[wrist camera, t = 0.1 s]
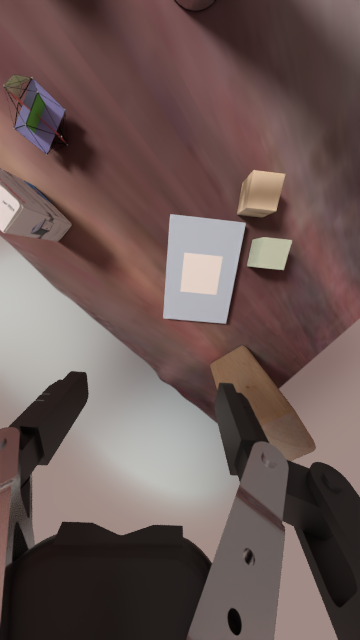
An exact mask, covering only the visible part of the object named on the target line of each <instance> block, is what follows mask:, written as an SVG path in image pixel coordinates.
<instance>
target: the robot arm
mask: <svg viewBox="0 0 360 640" xmlns="http://www.w3.org/2000/svg"><path fill="white" fill-rule="evenodd" d="M176 1H177V2H178V3H179V4H180V5H181V6H183V7H184V8H186V9H189V10H201V9H205V8H207V7H208V6H210V5H211V4H212V3H213V2H214V1H215V0H176ZM87 399H88V383H87V375H86V373H85V372H74V371H71V372H70V373H69V374H68V375H67V376H66V377H65V378H64V379H63V380H58V381H57V382H55V383H53V384H52V385H50V386H49V387H48V388H47V389H46V390H45V391H44V392H43V393H42V395H40V396H39V397H38V398H37V399H36V401H34V402H33V403H32V404H31V405H30V406H29V407H28V408H27V409H26V410H25V411H24V412H23V413H22V414H21V415H20V416H19V417H18V418H17V419H16V420H15V421H14V422H13V423H12V424H11V425H10V426H9V427H6V428H2V429H0V640H274V634H275V624H276V616H277V606H278V596H279V588H280V578H281V569H282V559H283V550H284V541H285V527H284V526H283V525H282V521H284V522H286V523H288V524H290V525H292V526H294V528H295V530H296V533H297V536H298V538H299V540H300V543H301V546H302V549H303V551H304V553H305V556H306V559H307V561H308V564H309V566H310V569H311V571H312V574H313V576H314V579H315V582H316V584H317V587H318V589H319V592H320V594H321V597H322V600H323V602H324V604H325V607H326V610H327V612H328V615H329V617H330V620H331V622H332V625H333V628H334V630H335V633H336V635H337V638H338V640H360V497H359V495H358V494H357V493H356V491H355V490H354V488H353V487H352V486H351V484H350V483H349V482H348V481H347V479H346V478H345V477H344V476H343V475H342V474H341V473H340V472H338V471H337V470H336V469H334V468H333V467H331V466H329V465H327V464H324V463H321V462H315V463H313V464H312V465H311V467H310V469H309V468H306V467H304V466H301V465H299V464H296V463H293V462H291V461H289V460H287V459H286V458H285V457H284V455H283V454H282V453H281V452H280V451H279V450H278V449H277V448H276V447H275V446H273V445H272V444H270V443H269V441H268V439H267V437H266V435H265V433H264V431H263V429H262V427H261V425H260V423H259V421H258V419H257V417H256V416H255V413H254V411H253V409H252V407H251V405H250V403H249V401H248V399H247V398H246V397H245V396H244V395H243V394H242V393H237V392H236V390H235V387H234V385H233V384H232V383H221V382H220V383H219V386H218V391H217V395H216V400H215V413H216V418H217V422H218V426H219V430H220V434H221V438H222V442H223V446H224V450H225V454H226V459H227V463H228V467H229V471H230V475H238V477H239V481H240V485H239V488H238V491H237V494H236V497H235V499H234V502H233V505H232V508H231V511H230V514H229V517H228V519H227V522H226V525H225V528H224V531H223V534H222V537H221V540H220V543H219V546H218V549H217V551H216V554H215V557H214V560H213V563H211V561H210V560H209V558H208V557H207V556H206V555H205V554H204V553H203V551H202V550H201V549H200V548H198V547H197V546H196V545H195V544H194V543H192V542H191V541H189V540H188V539H186V538H184V537H183V528H182V526H170V525H152V526H149V527H146V528H143V529H140V530H137V531H135V532H131V533H128V534H125V535H117V534H115V533H113V532H111V531H109V530H107V529H105V528H103V527H100V526H98V525H96V524H94V523H81V522H62V524H61V526H60V528H59V531H58V533H57V534H56V535H53V536H51V537H49V538H47V539H45V540H43V541H41V542H40V543H38V544H36V545H35V541H34V533H33V525H32V471H33V470H34V468H35V467H36V466H37V465H48V463H49V462H50V460H51V459H52V457H53V455H54V454H55V452H56V451H57V449H58V447H59V446H60V444H61V443H62V441H63V439H64V438H65V436H66V434H67V433H68V431H69V430H70V428H71V427H72V425H73V423H74V422H75V420H76V419H77V417H78V415H79V414H80V412H81V411H82V409H83V407H84V406H85V404H86V402H87Z"/></svg>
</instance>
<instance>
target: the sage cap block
mask: <svg viewBox="0 0 360 640" xmlns="http://www.w3.org/2000/svg"><path fill="white" fill-rule="evenodd" d="M291 243H292V240H285V239H276V238H267V237H263V238H258V239H254V240H252V245H251V249H250V254H249V259H248V263H247V266H250V267H258V268H268V269H278V270H284V267H285V264H286V260H287V257H288V253H289V250H290V246H291Z"/></svg>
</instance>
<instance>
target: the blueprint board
mask: <svg viewBox="0 0 360 640" xmlns="http://www.w3.org/2000/svg"><path fill="white" fill-rule="evenodd" d="M245 225H246V223H243V222H234V221H225V220H216V219H208V218H199V217H190V216H181V215H172V214H170V225H169V239H168V254H167V269H166V283H165V298H164V313H163V318H166V319H178V320H189V321H201V322H212V323H224V324H226V321H227V316H228V311H229V306H230V301H231V296H232V291H233V285H234V280H235V275H236V270H237V265H238V260H239V255H240V250H241V245H242V240H243V235H244V230H245Z"/></svg>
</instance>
